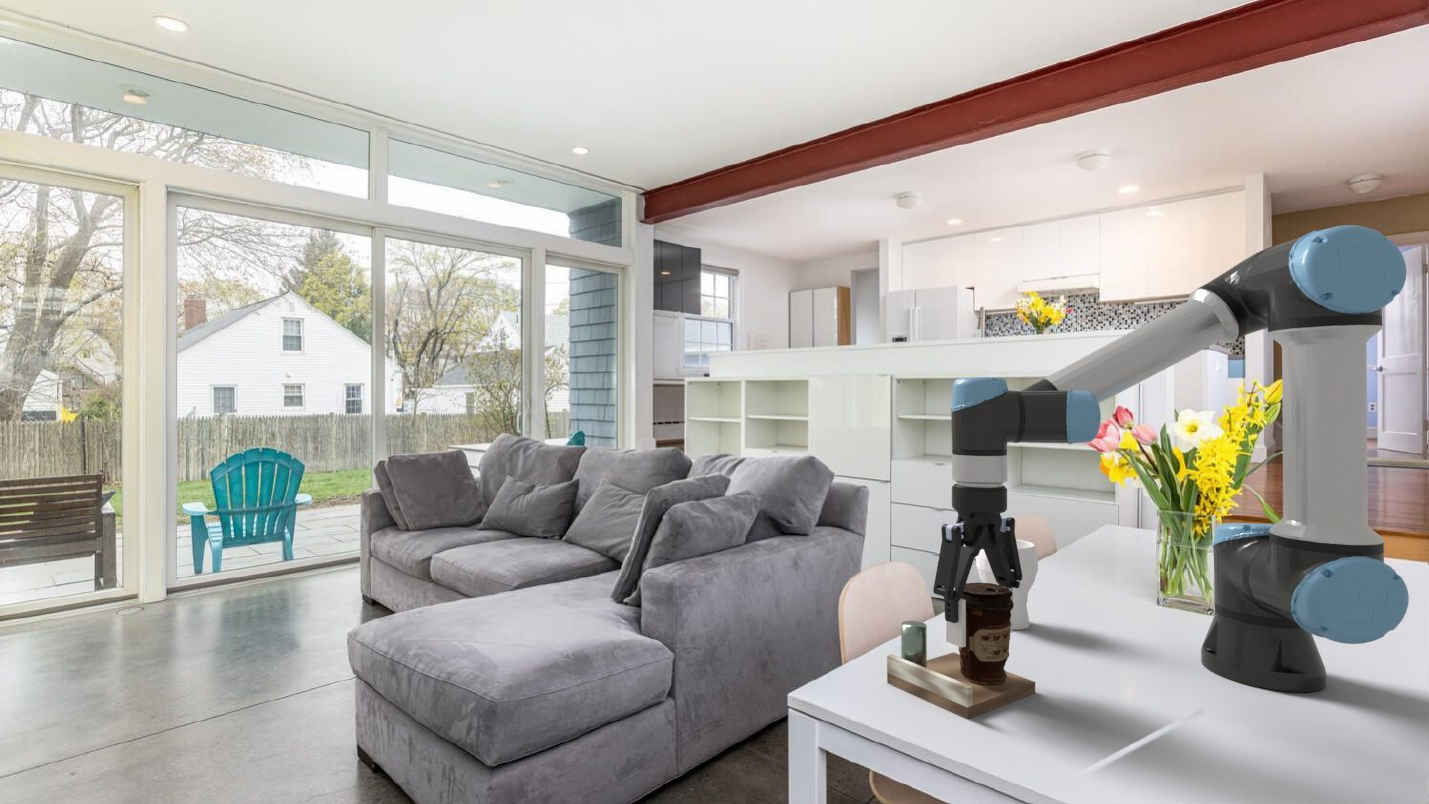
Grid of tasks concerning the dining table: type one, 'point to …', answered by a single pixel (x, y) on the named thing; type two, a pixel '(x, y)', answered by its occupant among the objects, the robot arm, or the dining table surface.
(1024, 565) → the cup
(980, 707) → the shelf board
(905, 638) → the green cylinder
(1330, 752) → the dining table surface
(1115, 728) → the dining table surface
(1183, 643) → the dining table surface
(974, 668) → the coffee cup
